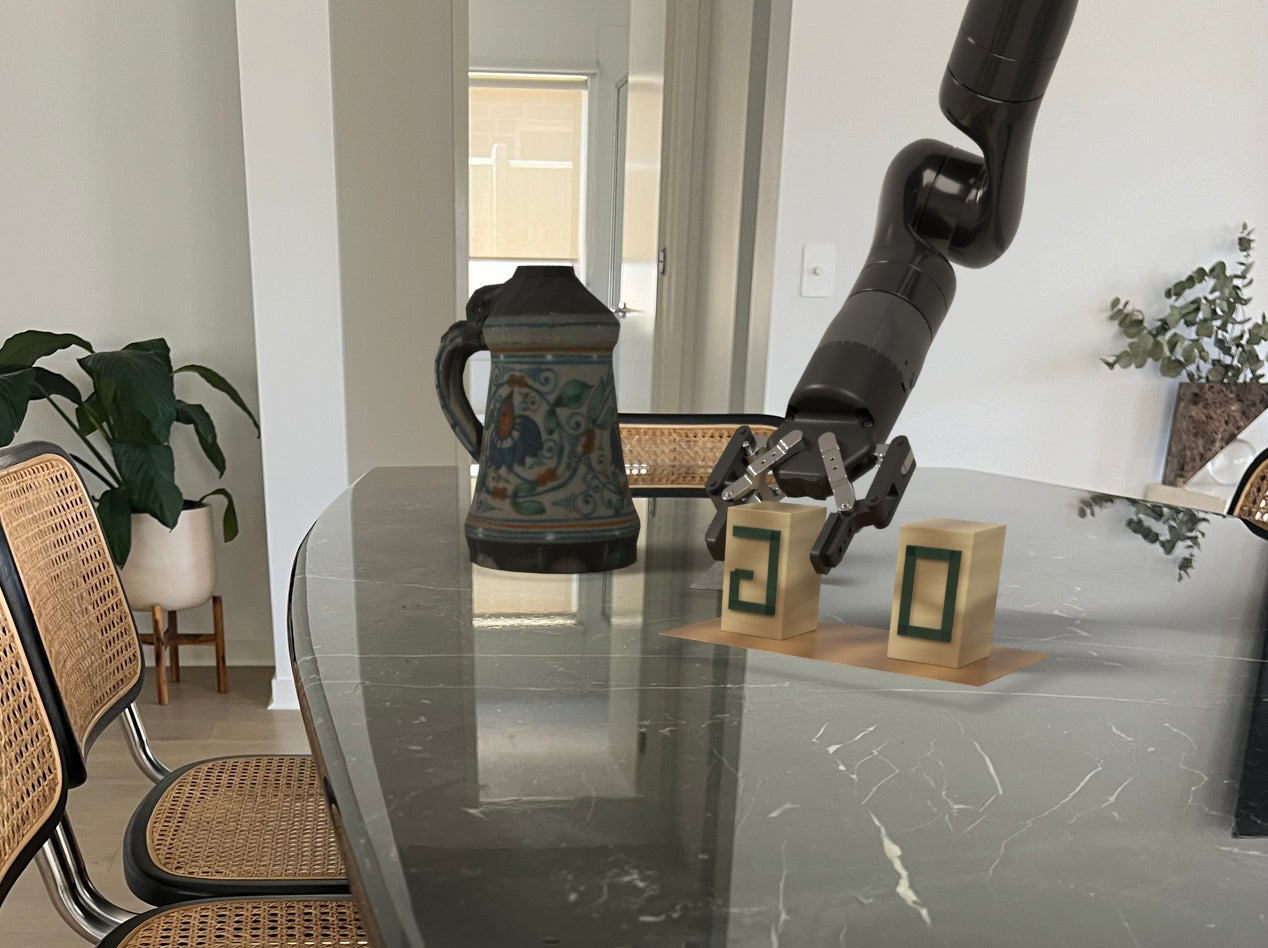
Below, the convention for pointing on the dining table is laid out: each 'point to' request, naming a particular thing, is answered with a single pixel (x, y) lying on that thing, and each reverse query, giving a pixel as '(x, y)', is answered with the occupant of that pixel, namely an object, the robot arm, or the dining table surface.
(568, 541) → the beer stein
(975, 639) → the letter O
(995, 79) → the robot arm
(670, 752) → the dining table surface
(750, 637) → the word mat
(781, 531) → the letter G
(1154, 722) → the dining table surface
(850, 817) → the dining table surface
